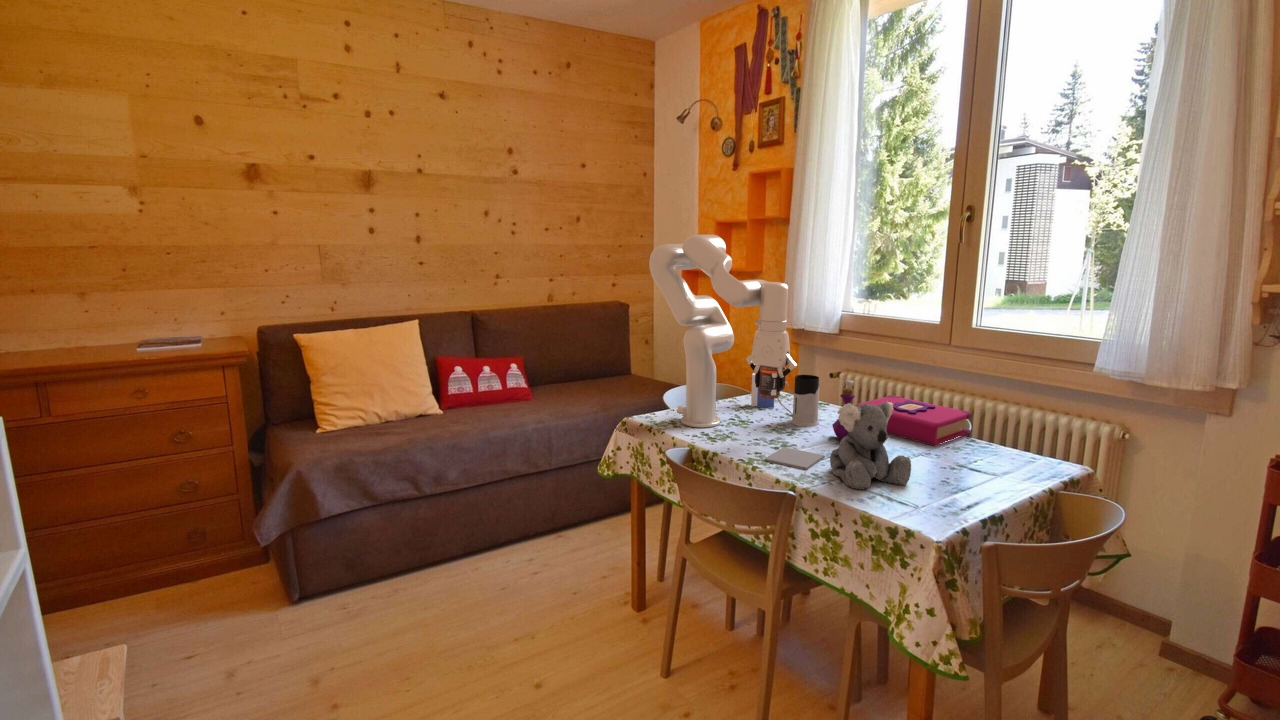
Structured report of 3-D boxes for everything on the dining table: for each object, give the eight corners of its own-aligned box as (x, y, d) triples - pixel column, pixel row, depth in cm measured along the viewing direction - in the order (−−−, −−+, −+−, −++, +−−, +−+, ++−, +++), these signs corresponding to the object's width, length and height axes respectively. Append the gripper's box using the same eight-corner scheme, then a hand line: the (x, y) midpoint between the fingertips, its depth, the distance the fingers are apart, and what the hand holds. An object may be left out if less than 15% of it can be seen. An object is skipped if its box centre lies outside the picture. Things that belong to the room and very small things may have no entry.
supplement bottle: (779, 399, 189) (781, 360, 186) (758, 398, 190) (760, 359, 187) (779, 394, 194) (781, 356, 192) (759, 393, 195) (760, 355, 193)
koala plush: (853, 493, 157) (858, 413, 153) (813, 468, 173) (816, 395, 170) (915, 485, 161) (921, 407, 158) (870, 461, 178) (875, 390, 175)
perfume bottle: (831, 434, 201) (834, 376, 198) (857, 436, 200) (861, 377, 196) (833, 442, 194) (836, 382, 191) (860, 444, 192) (864, 383, 189)
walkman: (773, 405, 235) (774, 372, 233) (773, 407, 233) (775, 374, 230) (750, 405, 236) (751, 372, 234) (751, 407, 233) (752, 373, 231)
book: (934, 448, 190) (936, 422, 188) (851, 425, 212) (852, 402, 211) (972, 434, 202) (974, 410, 201) (889, 415, 224) (891, 393, 223)
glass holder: (822, 426, 210) (824, 380, 207) (776, 426, 210) (778, 380, 207) (815, 418, 218) (817, 374, 216) (772, 418, 219) (773, 374, 216)
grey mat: (764, 460, 179) (764, 458, 179) (783, 449, 188) (783, 447, 188) (807, 469, 172) (807, 467, 172) (824, 457, 181) (824, 455, 181)
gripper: (739, 325, 190) (736, 386, 194) (795, 331, 180) (792, 395, 184) (751, 322, 196) (748, 381, 199) (807, 327, 186) (803, 390, 189)
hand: (769, 387), depth 191 cm, fingers closed on supplement bottle, 6 cm apart
